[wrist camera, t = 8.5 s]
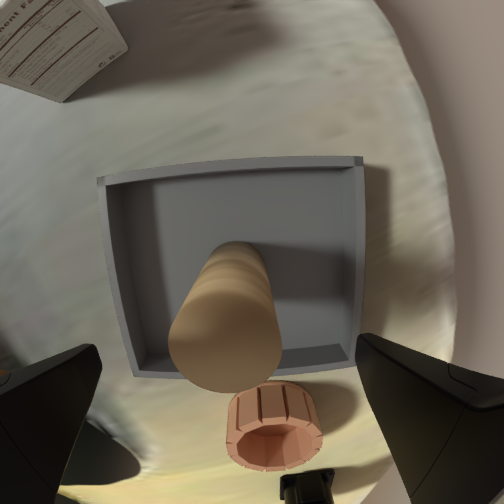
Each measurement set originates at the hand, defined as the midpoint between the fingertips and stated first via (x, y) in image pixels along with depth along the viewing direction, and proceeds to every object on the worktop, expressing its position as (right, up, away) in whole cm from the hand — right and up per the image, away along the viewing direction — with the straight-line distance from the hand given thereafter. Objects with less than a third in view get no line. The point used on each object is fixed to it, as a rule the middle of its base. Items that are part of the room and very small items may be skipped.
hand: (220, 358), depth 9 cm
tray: (0, +2, +12) cm, 12 cm away
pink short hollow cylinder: (+3, -11, +15) cm, 19 cm away
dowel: (0, +2, +11) cm, 11 cm away
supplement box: (-13, +20, +8) cm, 25 cm away
